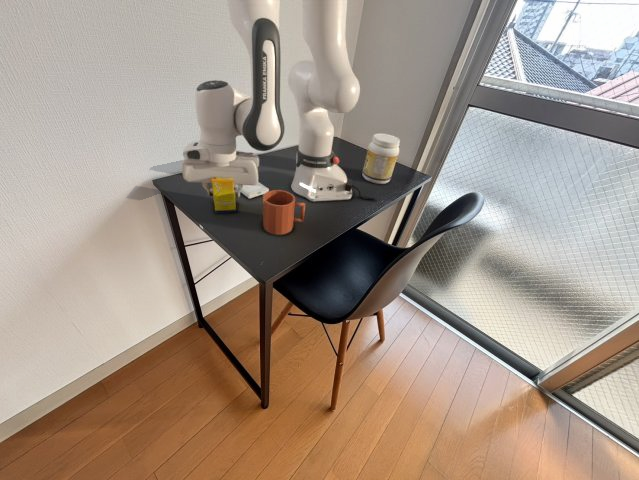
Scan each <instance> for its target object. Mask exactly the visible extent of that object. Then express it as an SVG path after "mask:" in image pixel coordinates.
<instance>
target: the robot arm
mask: <svg viewBox="0 0 639 480" xmlns="http://www.w3.org/2000/svg"><path fill="white" fill-rule="evenodd" d="M227 8H228V13H229V18H230V21H231V24H232V25H233V28H234V29H235V31H236V33H238V35H239V36H240V38H241V40H242V41H243V43H244V45H245V48H246V50H247V53H248V56H249V63H250V82H251V84H250V85H251V95H248V94H245V93H243V92H241V91H239V90H237V89H236V88H234V87H233V86H231V85H230V84H229V83H228V82H227V81H225V80H218V79H217V80H216V79H215V80H208V81H203V82H202V83H200V84H199V85H198V86H197V88H196V90H195V98H194V99H195V113H196V121H197V125H198V126H199V129H200V130H199V131H200V134H199V140H196V141H192V142H189V143H187V144H186V146H185V147H184V149H183V150H182V157H183V160H182V162H181V172H182V177H183V180H184V181H185V182H187V183H199V184H201V186H202V187H203V189H204V190H205V191H206V192H207V196H208V197H213V190H212V187H211V186H210V185H209V184H212V183H211V177H217V178H232V179H233V182H234V184H235V185H238V190H237V189H236V188H234V194H235V198H240V197H241V192H240V191H241V190H242V188H243V185H256V184H257V183H258V182H259V167H260V158H259V156H258V155H257V154H255V153H254V152H252V151H251V152H245V151H239V150H238V149H237V137H238V136H242V137H243V138H244V139H245V141H246V142H247V144H248V145H249V146H250V147H251V148H252V149H254V150H255V151H259V152H267V151H271V150H272V149H275V148H276V147H277V146H278V145H279V144H281V142H282V140H283V138H284V135H285V130H286V129H285V128H286V127H285V121H284V117H283V115H282V110H281V59H282V58H281V38H280V15H281V13H280V12H281V0H227ZM347 9H348V0H302V36H303V39H304V41H305V43H306V45H307V47H308V48H309V51H310V53H311V57H312V59H309V60H300V61H297V62H295V63H293V65H292V66H291V68H289V69H290V70H289V72H288V78H287V81H288V83H287V84H288V87H289V89H290V91H291V93H292V96H293V97H294V101H295V104H296V109H297V115H298V120H299V138H298V147H297V148H296V154H295V155H296V156H295V165H296V166H295V172H294V176H293V179H292V182H291V185H290V188H291V190H292V191H293V192H294V193H295V194H296V195H299V196H301V197H303V198H305V199H307V200H309V201H310V202H327V201H344V200H351V198H352V197H353V189H352V188H354V189H356V190H357V191H358V195H359V197H360V198H361V199H362V200H367V201H369V200H370V201H374V200H375V197H367V196H366V197H365V196H363V195H362V191H361V189H360V188H359V187H358V186H356V185H354V184H353V181H354V179H352V178H348V177H347V174H346V172H345V171H344V170H343V169H342V168H341V167H340V166H339V163H340V159H339V157H338V156H337V154H336V153H334V151H333V150H332V149H333V143H334V136H335V127H334V124H333V123H332V120H331V119H330V117H329V112H330V113H335V114H347V113H349V112H351V111H352V110H353V109H354V108H355V107H356V105H357V103H358V101H359V99H360V95H361V86H360V81H359V79H358V78H357V76H356V75H355V72H354V71H353V69H352V66H351V63H350V59H349V53H348V48H347V39H346V34H347V33H346V31H347V14H348V12H347Z"/></svg>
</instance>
